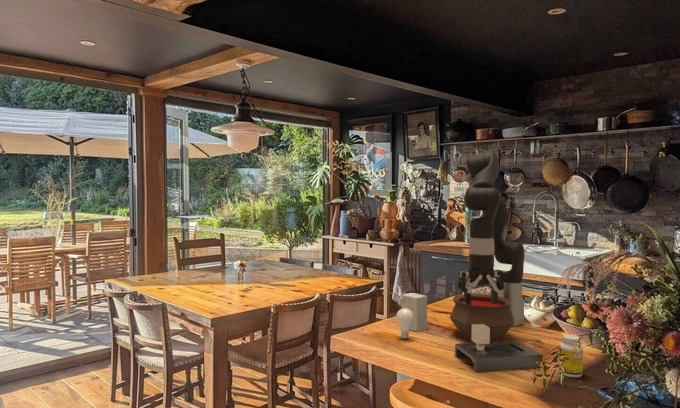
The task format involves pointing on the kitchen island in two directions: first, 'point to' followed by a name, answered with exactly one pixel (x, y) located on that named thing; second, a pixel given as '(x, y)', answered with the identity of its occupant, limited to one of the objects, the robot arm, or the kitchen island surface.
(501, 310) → the brown cooking pot
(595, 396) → the kitchen island surface
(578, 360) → the pill bottle
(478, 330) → the keyhole peg
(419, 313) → the small box
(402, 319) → the lightbulb
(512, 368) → the keyhole plate
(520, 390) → the kitchen island surface
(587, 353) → the kitchen island surface
